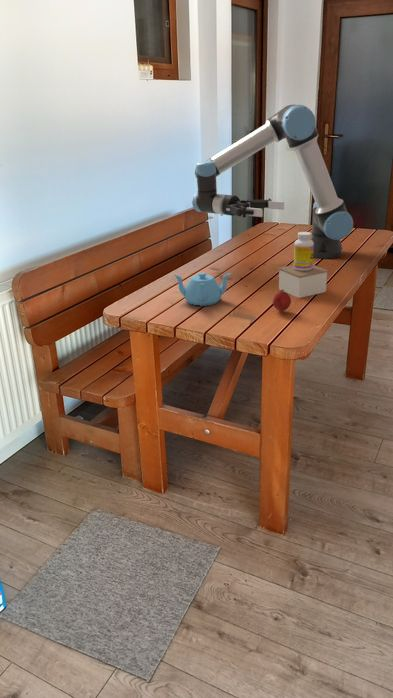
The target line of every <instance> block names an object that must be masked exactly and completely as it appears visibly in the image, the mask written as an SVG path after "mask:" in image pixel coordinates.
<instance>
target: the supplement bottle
mask: <svg viewBox="0 0 393 698" xmlns="http://www.w3.org/2000/svg"><path fill="white" fill-rule="evenodd" d="M311 238H312V232H309V231H299V232H297V239H295V241H294V250H293V253H294V254H293V265H294V269H295V270H298V271H309V270H311V269H312V267H313V265H314V257H313V247H314V243H313V241H312V240H311Z"/></svg>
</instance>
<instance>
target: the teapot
mask: <svg viewBox="0 0 393 698" xmlns="http://www.w3.org/2000/svg"><path fill="white" fill-rule="evenodd" d="M231 274H232V272H228V273H226V274H224V275H223V277H222V283H221V284H220V285H219V283H218V282H217V280H216V279H215V277H214V276H212V275H211V274H207V273H206V272H204V271H202V272H199V273H198V274H197V275H193V276H192V277H191V278H190V279H189V281H188V282H187V284H186V286H185V285H184V284H183V279H182V278H183V277H181V276H180V275H178V274H173V276H174V277H175V278H176V279H177V282H178V290H179V293H180V294H181V296H184V300H185V301H186V302H187V303H188V304H190V305H192V304H193V305H192V306H195V305H200V306H199V307H207V305H208V306H212V305H215V304H217V303H218V302H219V301H220V300H221V298H222V296H223V295H224V294H225V293H226V291H227V286H228V285H227V284H228V283H227V280H228V277H229V276H230V275H231Z"/></svg>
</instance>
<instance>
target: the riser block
mask: <svg viewBox="0 0 393 698" xmlns="http://www.w3.org/2000/svg"><path fill="white" fill-rule="evenodd" d="M328 272H329V270H328V269H325V268H322V267H319V266H317V265H315V264H313V267H312V269H311V270H309V271H298V270H295V269H294V264H291V265H286V266H280V267H278V290H279V291H280V290H281V289H283V290H284V292H286V293H287V294H288V295H291V296H293V297H295V298H298V299H300V298H306V297H309V296H313V295H318V294H322V293H326V292H327V282H328V281H327V280H328V278H327V277H328Z"/></svg>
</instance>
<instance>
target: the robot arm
mask: <svg viewBox="0 0 393 698" xmlns="http://www.w3.org/2000/svg"><path fill="white" fill-rule="evenodd" d="M316 122H317V119H316V116H315V114H314V112H313V111H312V110H311V109H310V108H309V107H308V106H305V105H302V104H289V105H286V106H284V107H283V108H281V110H279V111H278V112H276V113H275V114H274V115H272V116H270V117H269V118H267V119H266V120H265V123H264V124H262V125H261V126H259V127H257V128H256V129H255V130H253V131H251V132H250V133H248V134H247V135H245V136H243V137H242V138H240V139H238V140H237V141H235V142H233V143H232V144H231V145H229V146H227V147H225V148H224V149H222V150H221V151H219V152H218V153H216V154H215V155H213V156H211V157H210V158H208V159H207V160H204V161H203V160H202V161H199V162H197V163H196V167H195V169H194V175H195V178H196V185H197V192H196V193H195V194H194V195H193V197H192V200H191V204H192V208H193V209H194V210H195V211H196V212H198V213H203V214H215V215H220V216H221V217H223V216H224V215H225V216H232V217H233V216H237V217H242V219H243V218H244V219H245V218H246V217H248V216H249V217H258V218H263V217H264V216H263V209H266V208H268V209H271V210H278V211H279V210H280V211H281V210H285V202H284V201H278V200H277V201H276V200H274V201H273V200H272V199H271V198H268V199H246V200H244V199H240V198H239V197H238V196H237V195H233V194H224V193H223V194H219V193H218V192H217V191H218V189H217V177H218V176H220V175H221V174H222V173H223V174H224V173H225V172H226V171H228V170H229V169H231V168H233V167H235V166H236V165H238V164H239V163H241V162H243V161H245V160H246V159H247V158H249V157H251V156H253V155H254V154H256V153H258V152H259V151H261V150H263V149H264V148H265V147H267V146H269V145H270V144H272V143H274V142H276V143H278V142H279V143H280V141H282V140H283V139H286V141H287V145H288V147H289V149H290V150H293V151H295V153H296V156H297V159H298V161H299V164H300V167H301V169H302V172H303V174H304V177H305V180H306V181H307V184H308V187H309V190H310V192H311V195H312V196H313V197H312V198H313V199H314V203H313V204H312V205H313V206H312V223H311V224H312V226H311V227H312V228H311V240H312V241H313V243H314V247H313V258H315V259H335V258H338V257H339V258H340V257H341V256H343V247H342V243H341V240H342V239H345V238H347V237H348V235H350V233H351V232H352V230H353V227H354V220H353V217H352V215H351V214H350V213H349V212H348V210H347V208H346V207H347V206H346V205H345V201H344V199H342V198H339V197H338V196H337V195H338V194H337V193H336V189H335V187H334V183H333V182H332V179H331V178H332V177H331V176H330V174H329V171H328V168H327V165H326V163H325V160H324V158H323V155H322V152H321V149H320V147H319V144H318V137H319V136H320V135H319V132H318V129H317V127H316V125H317V123H316Z"/></svg>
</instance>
